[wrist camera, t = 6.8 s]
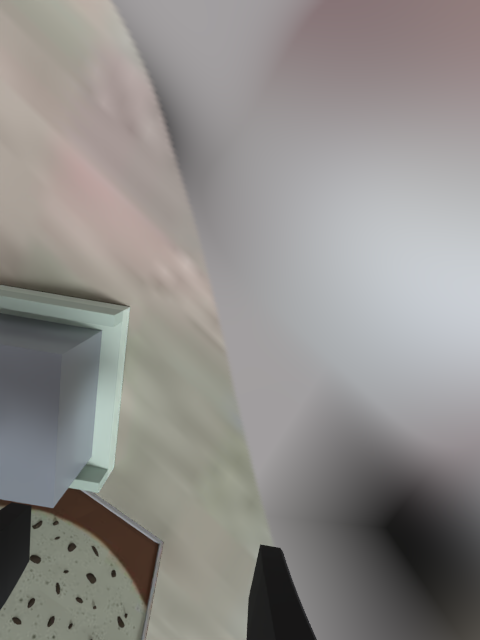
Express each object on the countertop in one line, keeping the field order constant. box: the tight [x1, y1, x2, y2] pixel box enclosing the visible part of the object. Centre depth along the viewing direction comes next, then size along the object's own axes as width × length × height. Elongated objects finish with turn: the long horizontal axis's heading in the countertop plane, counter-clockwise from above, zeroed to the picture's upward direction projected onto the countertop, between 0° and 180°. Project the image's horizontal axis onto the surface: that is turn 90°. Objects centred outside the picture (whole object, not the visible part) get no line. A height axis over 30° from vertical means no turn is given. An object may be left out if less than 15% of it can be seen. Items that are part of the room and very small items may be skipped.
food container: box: [0, 488, 164, 640], centre depth 18 cm, size 12×6×10 cm, turn 50°
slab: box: [0, 313, 102, 508], centre depth 17 cm, size 8×7×4 cm
